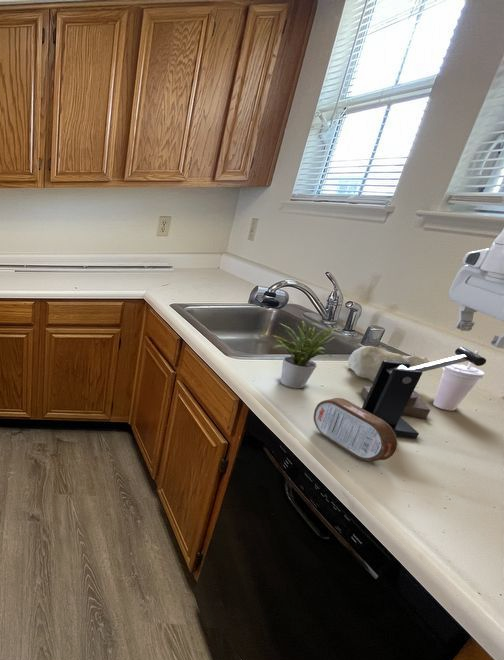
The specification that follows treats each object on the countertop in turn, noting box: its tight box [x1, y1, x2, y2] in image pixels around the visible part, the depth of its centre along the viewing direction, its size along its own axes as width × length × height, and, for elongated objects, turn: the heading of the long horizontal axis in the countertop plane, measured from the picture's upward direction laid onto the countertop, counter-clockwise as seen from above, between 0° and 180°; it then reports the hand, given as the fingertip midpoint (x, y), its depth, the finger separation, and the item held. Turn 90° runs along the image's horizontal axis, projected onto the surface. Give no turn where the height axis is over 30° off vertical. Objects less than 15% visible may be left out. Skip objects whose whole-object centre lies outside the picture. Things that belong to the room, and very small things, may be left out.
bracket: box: [361, 360, 423, 439], centre depth 86 cm, size 11×8×14 cm
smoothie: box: [432, 350, 485, 411], centre depth 94 cm, size 6×6×14 cm
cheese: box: [347, 345, 435, 383], centre depth 108 cm, size 15×7×15 cm
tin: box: [313, 397, 398, 462], centre depth 80 cm, size 15×3×8 cm, turn 10°
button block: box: [360, 385, 431, 419], centre depth 96 cm, size 10×8×4 cm
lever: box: [386, 346, 487, 379], centre depth 82 cm, size 13×6×2 cm, turn 73°
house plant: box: [270, 320, 340, 389], centre depth 104 cm, size 14×14×16 cm
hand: (479, 337), depth 78 cm, fingers open, 8 cm apart
